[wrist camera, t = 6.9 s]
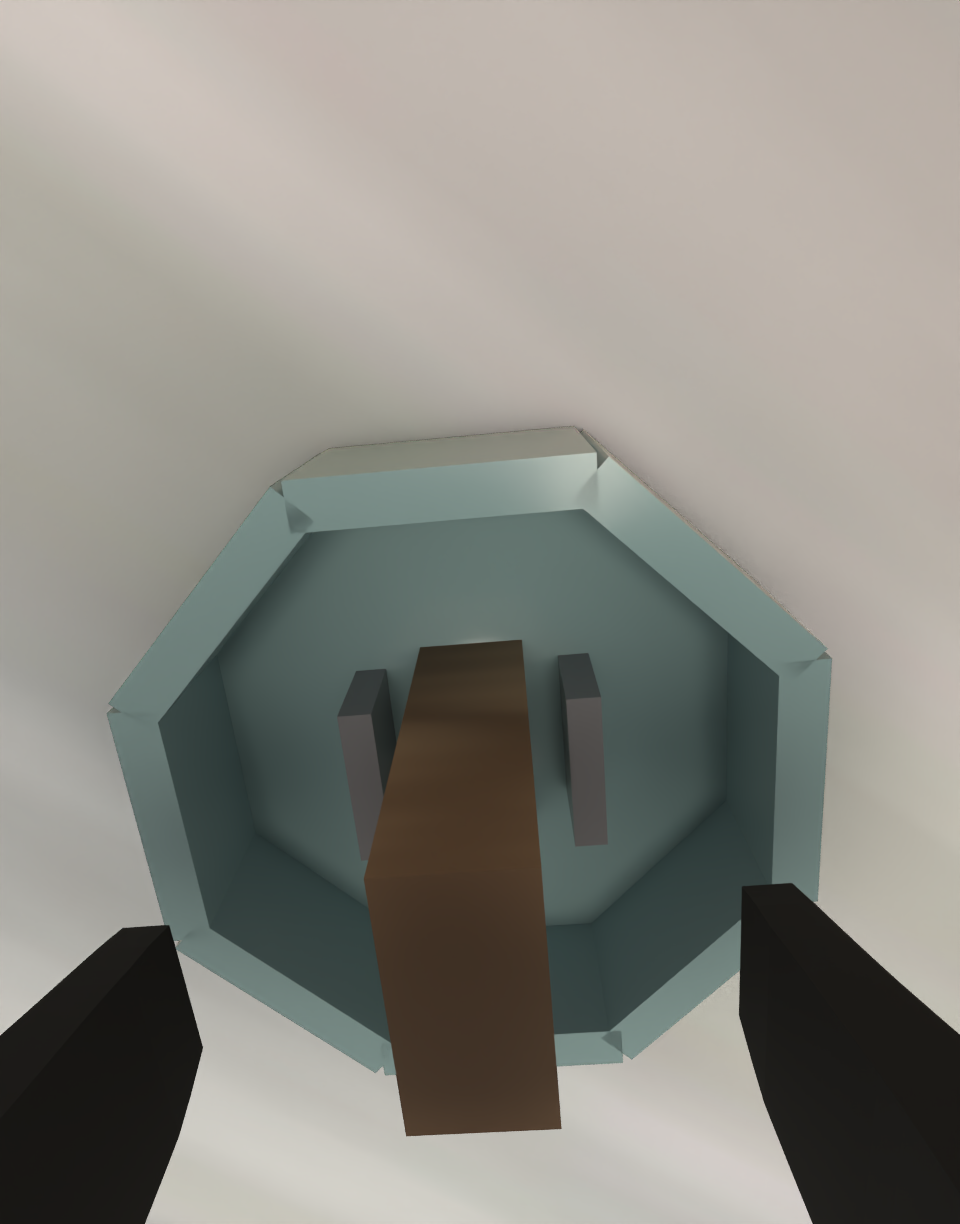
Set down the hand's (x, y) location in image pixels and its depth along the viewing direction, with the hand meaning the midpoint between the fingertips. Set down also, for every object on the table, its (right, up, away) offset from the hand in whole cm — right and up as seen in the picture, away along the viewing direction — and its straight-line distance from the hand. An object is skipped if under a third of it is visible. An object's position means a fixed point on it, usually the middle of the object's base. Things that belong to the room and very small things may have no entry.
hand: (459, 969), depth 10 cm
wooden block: (0, +2, +6) cm, 7 cm away
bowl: (0, +2, +7) cm, 7 cm away
